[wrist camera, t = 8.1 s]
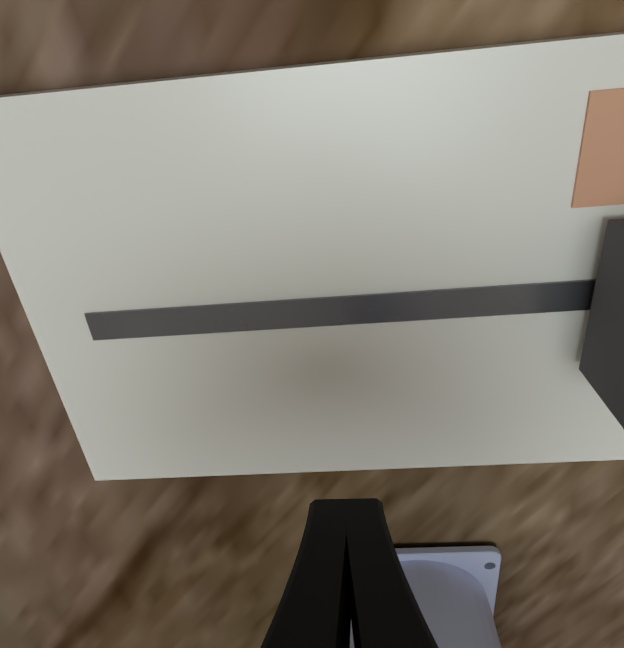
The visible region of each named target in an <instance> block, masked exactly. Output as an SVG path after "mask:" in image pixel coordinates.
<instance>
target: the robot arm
mask: <svg viewBox="0 0 624 648" xmlns="http://www.w3.org/2000/svg"><path fill="white" fill-rule="evenodd" d="M500 563H501V555H500V552H499V549H498V548H496V547H494V546H458V547H422V548H395V547H394V545H393V542H392V539H391V536H390V533H389V530H388V526H387V523H386V519H385V515H384V511H383V506H382V502H380V501H379V500H378V499H376V498H371V499H323V500H314V501H313V502H312V503H310V507H309V513H308V518H307V522H306V526H305V530H304V534H303V538H302V541H301V544H300V548H299V551H298V554H297V557H296V560H295V563H294V566H293V569H292V572H291V574H290V577H289V580H288V582H287V585H286V588H285V590H284V593H283V596H282V598H281V601H280V604H279V606H278V609H277V611H276V614H275V616H274V618H273V620H272V623H271V625H270V627H269V630H268V632H267V634H266V636H265V639H264V641H263V643H262V646H261V648H501V644H500V641H499V637H498V634H497V630H496V626H495V623H494V619H493V614H494V607H495V600H496V592H497V585H498V578H499V571H500Z"/></svg>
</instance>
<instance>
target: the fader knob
mask: <svg viewBox="0 0 624 648" xmlns="http://www.w3.org/2000/svg"><path fill="white" fill-rule="evenodd" d="M579 370H580V371H581V373H582V374H583V375H584V377H585V378H586V379H587V381H588V382H589V383H590V385H591V386H592V387H593V389H594V390H595V391H596V393H597V394H598V395H599V397H600V398H601V399H602V401H603V402H604V403H605V405H606V406H607V407H608V409H609V410H610V411H611V413H612V414H613V415H614V417H615V418H616V419H617V421H618V422H619V423H620V425H621V426H622V428H623V429H624V218H620V219H608V222H607V228H606V233H605V238H604V243H603V248H602V253H601V258H600V263H599V268H598V273H597V278H596V283H595V288H594V293H593V299H592V304H591V309H590V314H589V319H588V324H587V329H586V334H585V339H584V344H583V349H582V354H581V359H580V365H579Z"/></svg>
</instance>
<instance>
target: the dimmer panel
mask: <svg viewBox="0 0 624 648" xmlns="http://www.w3.org/2000/svg"><path fill="white" fill-rule="evenodd" d="M620 218H624V31H622V32H612V33H602V34H593V35H583V36H573V37H563V38H554V39H544V40H534V41H524V42H514V43H505V44H495V45H485V46H475V47H465V48H456V49H446V50H436V51H426V52H416V53H407V54H397V55H387V56H377V57H367V58H358V59H348V60H338V61H328V62H318V63H309V64H299V65H289V66H279V67H269V68H260V69H250V70H240V71H230V72H220V73H211V74H201V75H191V76H181V77H171V78H162V79H152V80H142V81H132V82H123V83H113V84H103V85H93V86H83V87H74V88H64V89H54V90H44V91H34V92H25V93H15V94H5V95H0V252H1V255H2V257H3V259H4V262H5V264H6V267H7V269H8V271H9V274H10V276H11V279H12V281H13V284H14V286H15V288H16V291H17V293H18V296H19V298H20V300H21V303H22V305H23V308H24V310H25V313H26V315H27V317H28V320H29V322H30V325H31V327H32V329H33V332H34V334H35V337H36V339H37V341H38V344H39V346H40V349H41V351H42V354H43V356H44V358H45V361H46V363H47V366H48V368H49V370H50V373H51V375H52V378H53V380H54V383H55V385H56V387H57V390H58V392H59V395H60V397H61V399H62V402H63V404H64V407H65V409H66V412H67V414H68V416H69V419H70V421H71V424H72V426H73V428H74V431H75V433H76V436H77V438H78V440H79V443H80V445H81V448H82V450H83V453H84V455H85V457H86V460H87V462H88V465H89V467H90V469H91V472H92V474H93V477H94V479H95V481H96V480H121V479H147V478H172V477H197V476H222V475H248V474H273V473H298V472H323V471H349V470H374V469H399V468H424V467H450V466H475V465H500V464H525V463H551V462H576V461H601V460H624V429H623V428H622V426H621V425H620V423H619V422H618V421H617V419H616V418H615V417H614V415H613V414H612V413H611V411H610V410H609V409H608V407H607V406H606V405H605V403H604V402H603V401H602V399H601V398H600V397H599V395H598V394H597V393H596V391H595V390H594V389H593V387H592V386H591V385H590V383H589V382H588V381H587V379H586V378H585V377H584V375H583V374H582V373H581V371H580V370H579V365H580V359H581V354H582V349H583V344H584V339H585V334H586V329H587V324H588V319H589V314H590V309H591V304H592V299H593V293H594V288H595V283H596V278H597V273H598V268H599V263H600V258H601V253H602V248H603V243H604V238H605V233H606V228H607V222H608V219H620Z"/></svg>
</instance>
